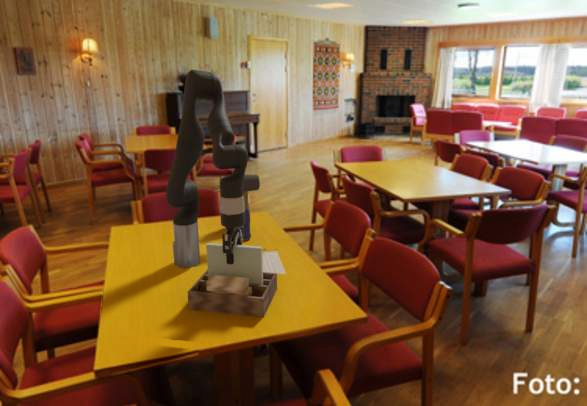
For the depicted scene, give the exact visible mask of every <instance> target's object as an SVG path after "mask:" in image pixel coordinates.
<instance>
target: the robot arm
mask: <svg viewBox="0 0 587 406" xmlns="http://www.w3.org/2000/svg"><path fill="white" fill-rule="evenodd" d="M183 92H184V93H183V102H182V113H181V117H180V118H181V119H180V124H179V128H178V133H177V139H176V143H175V144H176V145H175V153H174V158H173V162H172V168H171V171H170V175H169V177H168V181H167V185H166V189H165V198H166V199H165V200H166V202H167V204H168V205H169V206H170V207H171V208H179V209H178V210H177V211H176V212H175V213H174V214H173V216H172V225H173V226H172V227H173V228H172V229H173V236H174V237H173V239H174V241H172V251H173V254H172V255H173V264H174V266H177V267H178V268H184V269H189V268H190V269H191V268H195V267H197V266H199V265H200V263H201V251H200V236H199V225H198V224H199V223H198V221H199V220H198V217H199V214H200V206H199V205H200V197H199V196H200V193H199V189H198V186H197V184H196V183H195V182H194V181H193V180H191V179H188V176H189V174H190V172H191V171H192V170H193V168H194V167H195V165H196V164H197V162H198V161H199V160H200V157H201V156H202V153H203V151H204V150H203V149H204V145H205V141H206V140H205V139H206V135H205V132H204V128H203V127H202V126H203V125H202V124H201V122H200V121H199V118H198V114H197V111H196V110H197V109H196V103H197V100H204V101H211V102H212V104H213V106H212V109H211V111H210V112H209V115H208V117H207V119H206V120H207V121H206V122H207V123H206V124H207V129H208V132H209V135H210V139H211V143H212V163H213V165H214V167H215V168H216V169H218V170H222V171H223V170H233V171H232V173H230V174H228V175H225V176H223V177H221V178H220V180H219V195H220V197H219V198H220V199H219V209H220V211H219V212H220V213H219V214H220V225H221V226H222V227H224V228H226V230H225V233H223V234H222V235H221V236H222V244H223V253H226V262H227V264H233V263H234V253H233V252H234V247H235V246H236V245H243V242H244V241H243V240H244V224H245V203H244V196H243V180H244V175H246V174H245V173H246V169H247V166H248V161H249V153H248V150H247V148H246V147H245V146H244V145H242V144H233V143H234V142H235V139H236V137H235V136H236V135H235V133H234V130H233V128H232V125H231V122H230V120H229V119H230V118H229V116H228V112H227V106H226V105H227V104H226V101H225V94H224V89H223V84H222V81H221V78H220V76H219V75H218V74H217V73H215V72H211V71H205V70H197V69H191V70H189V71H188V73H187V74H186V78H185V83H184V90H183ZM225 246H226V247H225ZM228 246H229V249H228Z"/></svg>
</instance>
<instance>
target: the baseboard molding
mask: <svg viewBox="0 0 587 406" xmlns="http://www.w3.org/2000/svg"><path fill="white" fill-rule="evenodd" d="M277 250H278V249H277V248H276V249H275V250H273V251H266V248H262V254H263V272H269V273H277V275H278V274H279V275H287V272H286V269H285V267H284V265H283V263H282V260H281V258H280V255H279V253H278V251H277Z"/></svg>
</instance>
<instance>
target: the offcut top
mask: <svg viewBox="0 0 587 406" xmlns="http://www.w3.org/2000/svg"><path fill="white" fill-rule="evenodd" d="M206 287H207V291H215V292H227V293H238V294H245V292H246V290H247V289H248V287H249V278H244V277H232V276H220V275H212V276H211V277H210V278H209V279H208V280H207V281H206Z"/></svg>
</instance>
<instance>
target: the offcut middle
mask: <svg viewBox="0 0 587 406" xmlns="http://www.w3.org/2000/svg"><path fill="white" fill-rule="evenodd" d="M210 293H220V294H231V295H242V296H252V287H248V289H247V290H246V292H245V294H238V293H227V292H215V291H210Z"/></svg>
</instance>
